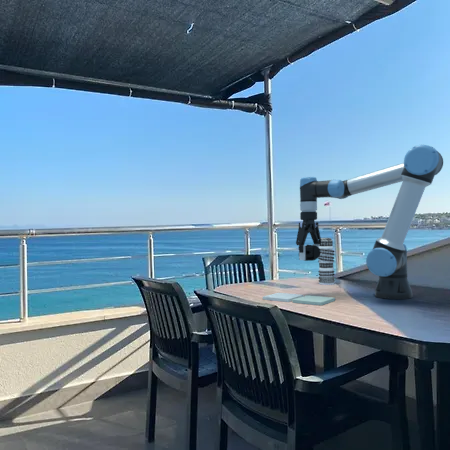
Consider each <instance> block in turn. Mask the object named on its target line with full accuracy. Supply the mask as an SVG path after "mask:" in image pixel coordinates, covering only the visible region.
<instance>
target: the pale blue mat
mask: <svg viewBox="0 0 450 450" xmlns="http://www.w3.org/2000/svg"><path fill="white" fill-rule="evenodd" d="M303 296H304V294H297V293H286V292H276V293H273V294H269V295H264V296H262V300H266V301H273V302H274V301H275V302H284V303H291V302H292V300H293V299H296V298H300V297H303Z"/></svg>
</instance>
